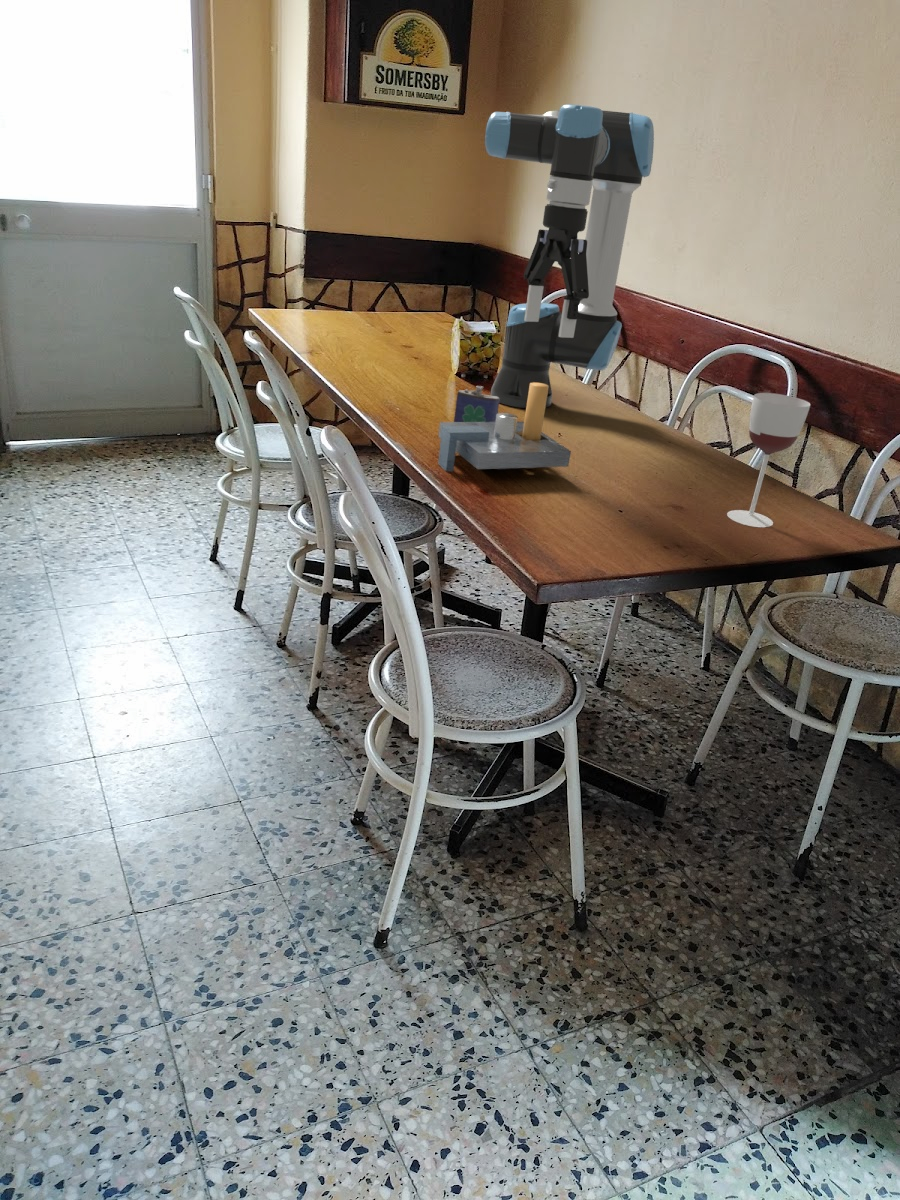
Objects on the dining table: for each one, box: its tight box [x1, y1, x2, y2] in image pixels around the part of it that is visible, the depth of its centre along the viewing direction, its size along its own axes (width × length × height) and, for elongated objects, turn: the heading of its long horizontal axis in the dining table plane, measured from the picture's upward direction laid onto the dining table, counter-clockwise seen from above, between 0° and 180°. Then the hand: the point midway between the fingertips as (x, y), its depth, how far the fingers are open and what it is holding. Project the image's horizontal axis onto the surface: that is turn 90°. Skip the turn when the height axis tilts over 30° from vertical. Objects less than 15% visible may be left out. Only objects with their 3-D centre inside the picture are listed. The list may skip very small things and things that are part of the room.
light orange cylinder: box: [522, 383, 549, 469], centre depth 179 cm, size 4×4×16 cm
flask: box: [453, 385, 500, 422], centre depth 195 cm, size 9×3×11 cm, turn 74°
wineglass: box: [726, 392, 811, 528], centre depth 164 cm, size 9×10×22 cm
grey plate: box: [437, 412, 572, 472], centre depth 178 cm, size 22×19×10 cm
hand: (548, 329), depth 171 cm, fingers open, 13 cm apart
